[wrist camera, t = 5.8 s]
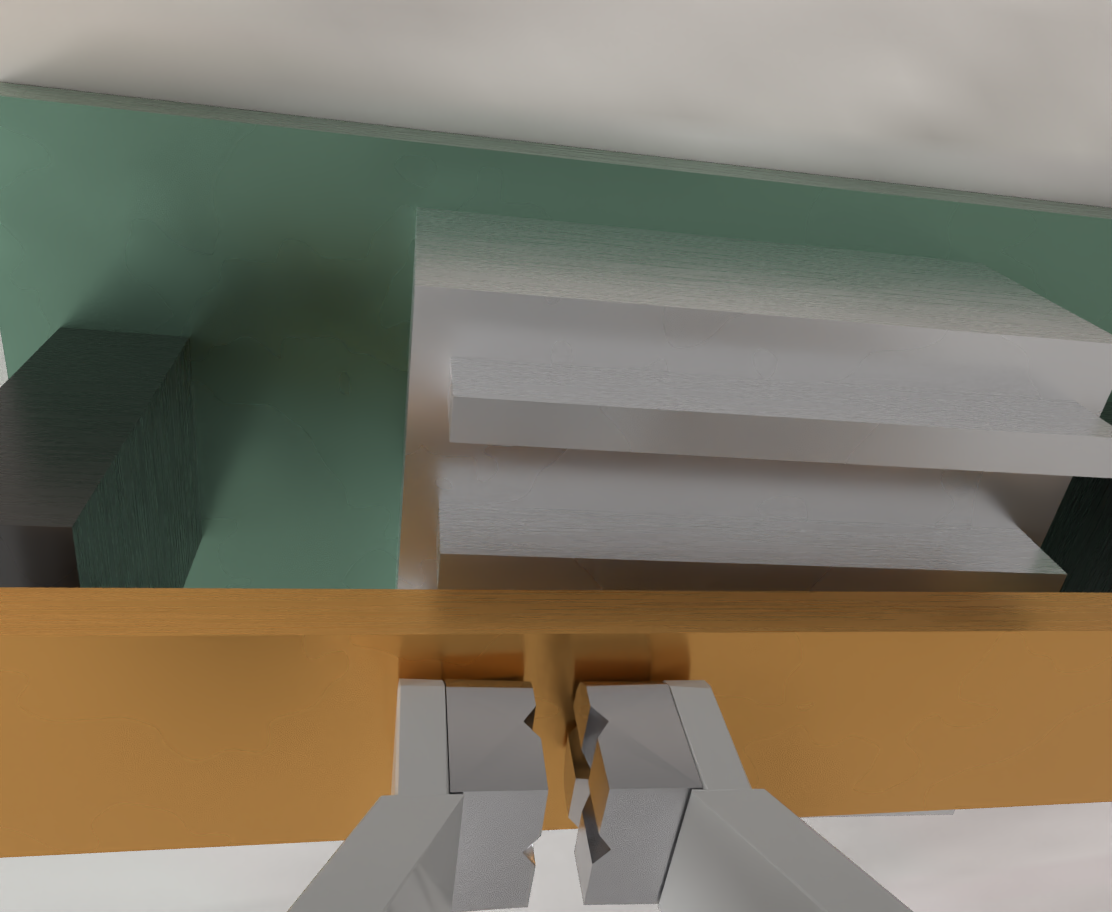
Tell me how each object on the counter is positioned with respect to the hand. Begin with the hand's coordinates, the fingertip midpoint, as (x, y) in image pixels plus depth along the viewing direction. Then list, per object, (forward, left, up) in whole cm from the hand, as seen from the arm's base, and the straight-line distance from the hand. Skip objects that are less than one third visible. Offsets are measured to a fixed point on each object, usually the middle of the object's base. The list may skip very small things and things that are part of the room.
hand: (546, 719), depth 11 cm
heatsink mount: (-3, -1, -8) cm, 9 cm away
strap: (-3, -1, -1) cm, 3 cm away
